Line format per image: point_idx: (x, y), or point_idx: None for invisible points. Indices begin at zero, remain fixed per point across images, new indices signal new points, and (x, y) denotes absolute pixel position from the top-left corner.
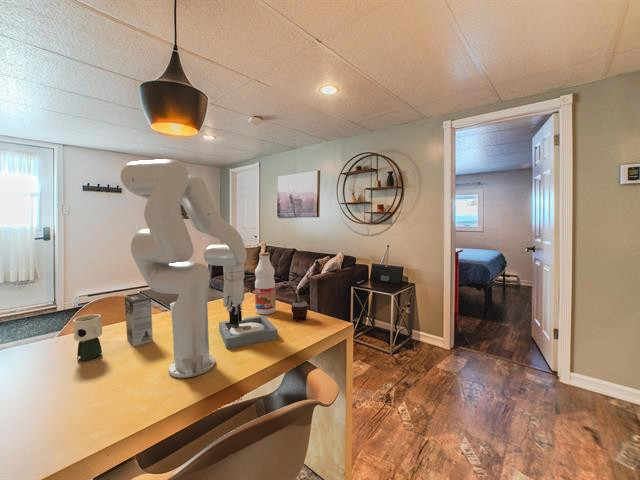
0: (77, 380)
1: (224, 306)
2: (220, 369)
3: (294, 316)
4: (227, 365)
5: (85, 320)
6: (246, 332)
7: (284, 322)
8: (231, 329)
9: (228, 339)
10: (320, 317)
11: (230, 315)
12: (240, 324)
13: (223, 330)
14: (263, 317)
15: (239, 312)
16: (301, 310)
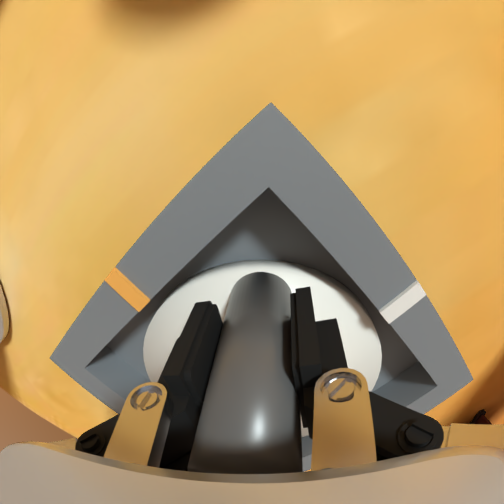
0: None
1: (14, 453)
2: (9, 359)
3: (481, 423)
4: (26, 370)
5: None
6: None
7: (449, 408)
8: (200, 295)
9: (60, 363)
10: None
11: (172, 373)
12: (330, 305)
13: (107, 287)
14: (433, 399)
15: (301, 416)
16: None
